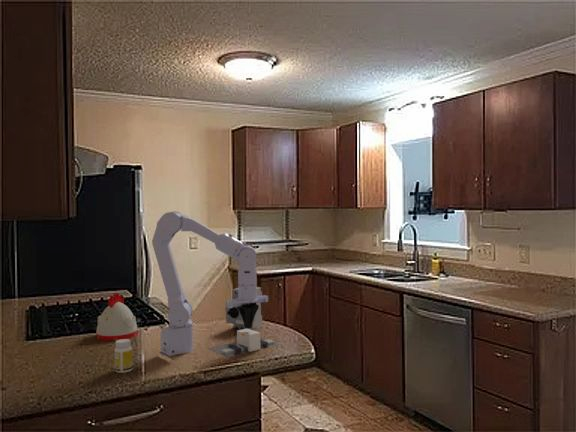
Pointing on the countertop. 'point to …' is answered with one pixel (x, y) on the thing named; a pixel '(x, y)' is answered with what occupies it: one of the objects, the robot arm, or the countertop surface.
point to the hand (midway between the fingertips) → (248, 327)
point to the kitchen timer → (116, 321)
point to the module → (248, 339)
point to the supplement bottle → (123, 356)
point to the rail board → (239, 347)
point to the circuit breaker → (235, 316)
